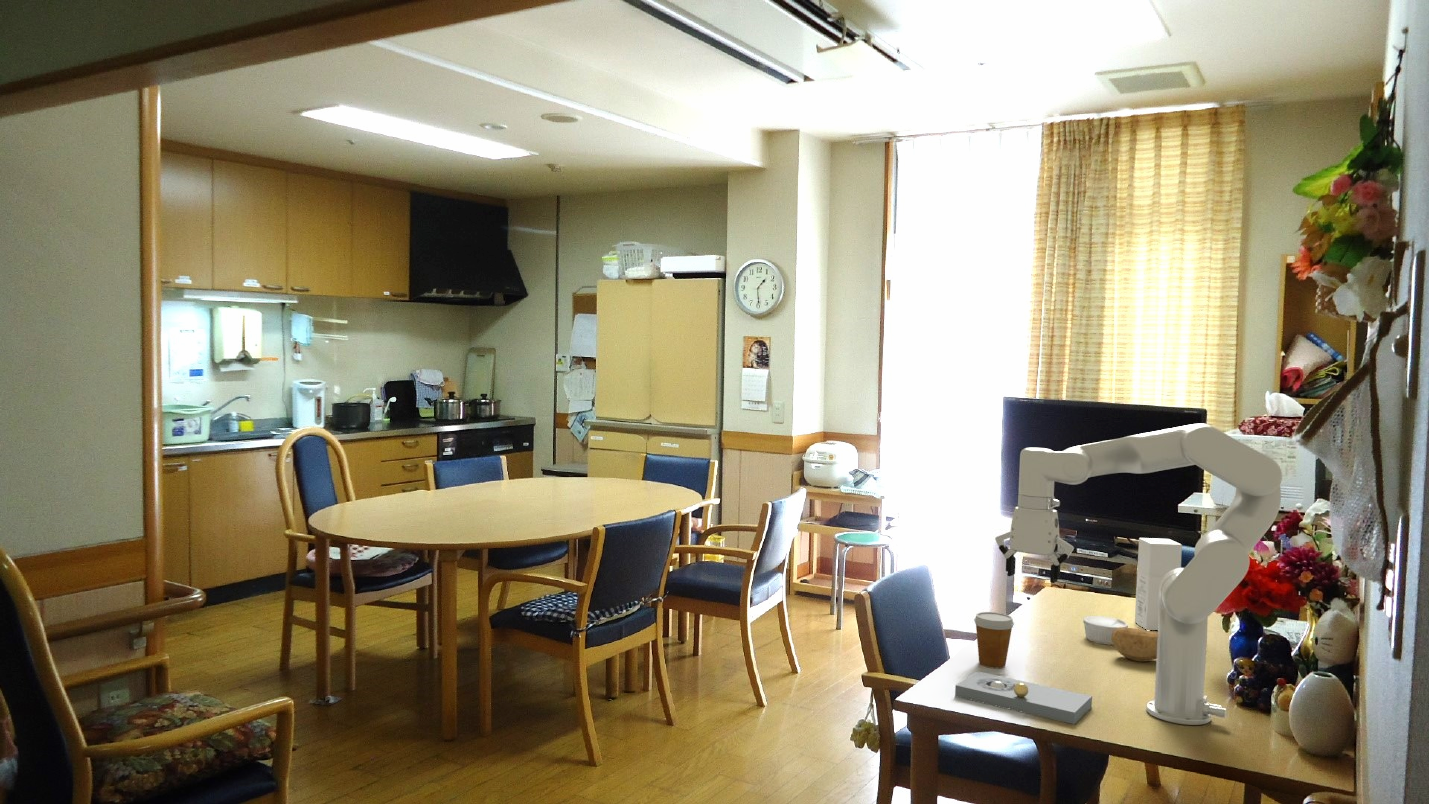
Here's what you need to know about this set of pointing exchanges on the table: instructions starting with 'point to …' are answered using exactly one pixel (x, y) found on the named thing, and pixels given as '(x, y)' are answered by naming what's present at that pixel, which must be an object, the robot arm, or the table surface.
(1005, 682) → the hole board
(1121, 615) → the table surface
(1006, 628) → the disposable coffee cup
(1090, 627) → the ramekin
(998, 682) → the ball
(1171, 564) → the tall white carton
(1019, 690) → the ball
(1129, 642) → the potato
